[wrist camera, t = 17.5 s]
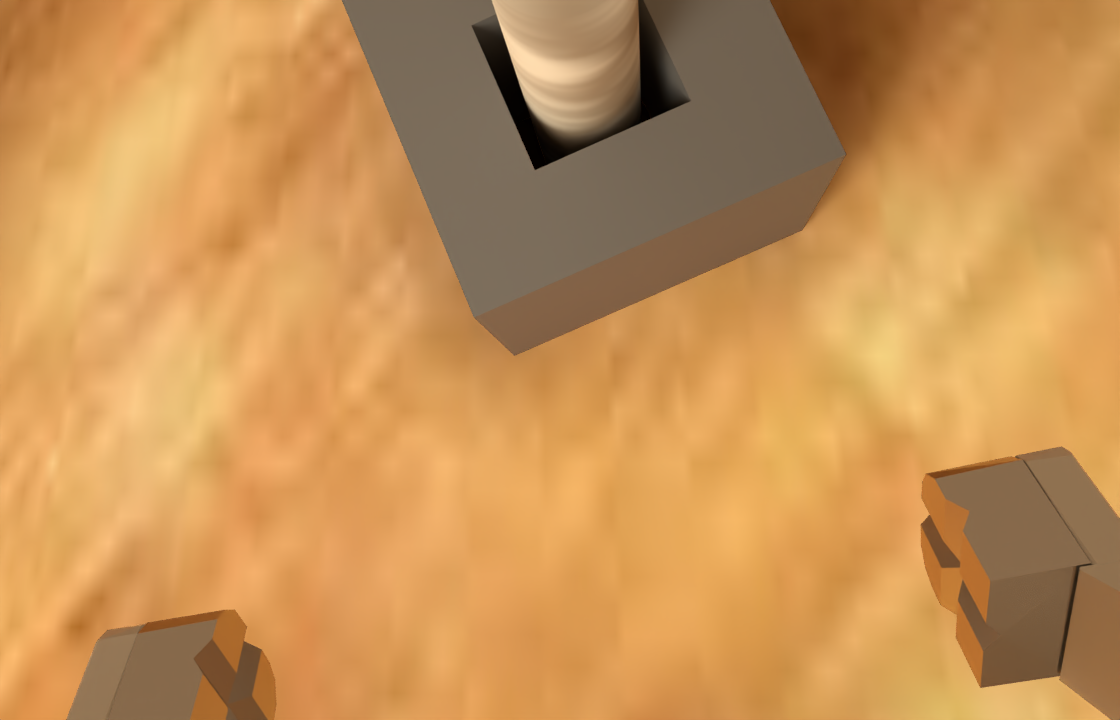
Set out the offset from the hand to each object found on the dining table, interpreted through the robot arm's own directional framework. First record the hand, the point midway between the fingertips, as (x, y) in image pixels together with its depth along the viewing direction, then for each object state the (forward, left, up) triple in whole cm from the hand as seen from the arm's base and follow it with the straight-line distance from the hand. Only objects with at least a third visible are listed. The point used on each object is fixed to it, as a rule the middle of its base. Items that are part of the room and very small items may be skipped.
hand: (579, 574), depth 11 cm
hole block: (+5, +15, -31) cm, 35 cm away
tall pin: (+5, +15, -31) cm, 35 cm away
